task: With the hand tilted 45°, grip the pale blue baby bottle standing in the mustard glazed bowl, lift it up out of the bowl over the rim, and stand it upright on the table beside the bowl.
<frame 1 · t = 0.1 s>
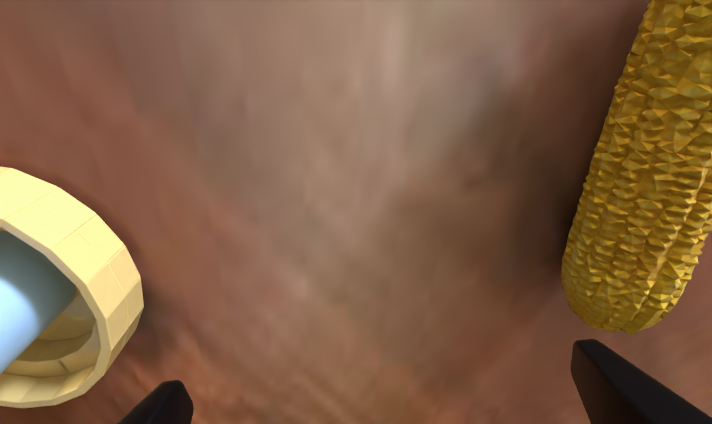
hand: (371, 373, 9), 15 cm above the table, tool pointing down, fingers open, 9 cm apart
food: (627, 125, 21), on the table
baby bottle: (22, 275, 25), point 1 cm above the table, touching bowl
bowl: (29, 269, 26), on the table
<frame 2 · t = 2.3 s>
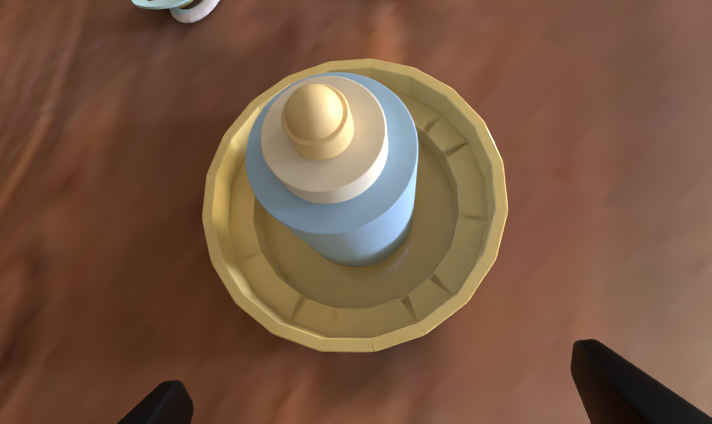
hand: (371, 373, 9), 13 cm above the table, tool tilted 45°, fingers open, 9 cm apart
baby bottle: (357, 211, 24), point 1 cm above the table, touching bowl
bowl: (358, 214, 24), on the table
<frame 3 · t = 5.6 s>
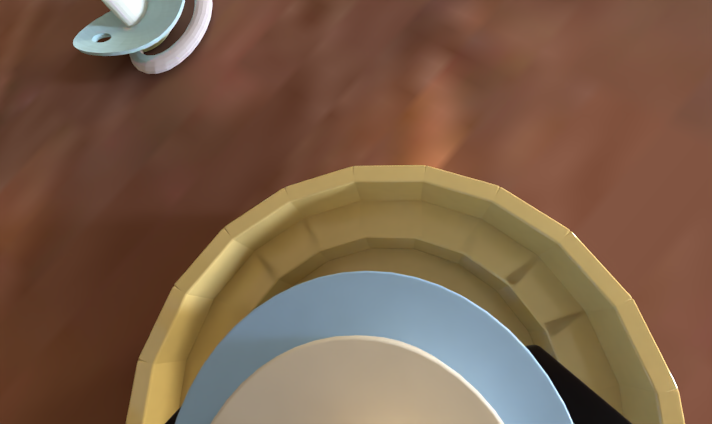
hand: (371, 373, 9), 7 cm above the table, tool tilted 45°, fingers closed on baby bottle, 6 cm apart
baby bottle: (389, 399, 15), point 1 cm above the table, touching bowl, gripper
bowl: (390, 396, 15), on the table
pacifier: (164, 31, 22), on the table
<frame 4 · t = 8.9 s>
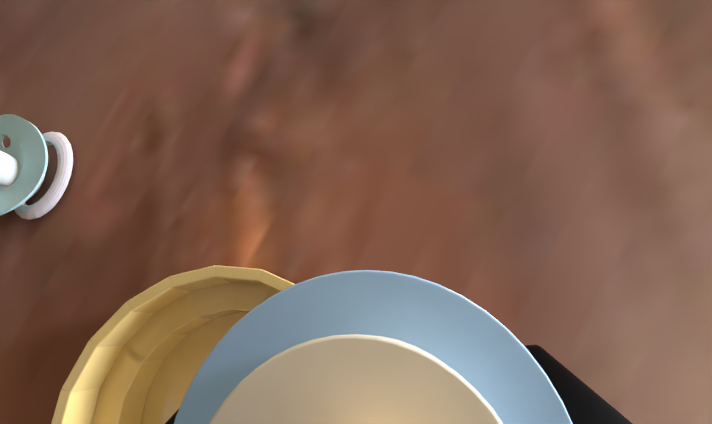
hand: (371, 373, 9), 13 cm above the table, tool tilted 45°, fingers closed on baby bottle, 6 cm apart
baby bottle: (388, 399, 15), point 7 cm above the table, touching gripper
bowl: (245, 419, 21), on the table
pacifier: (40, 178, 28), on the table
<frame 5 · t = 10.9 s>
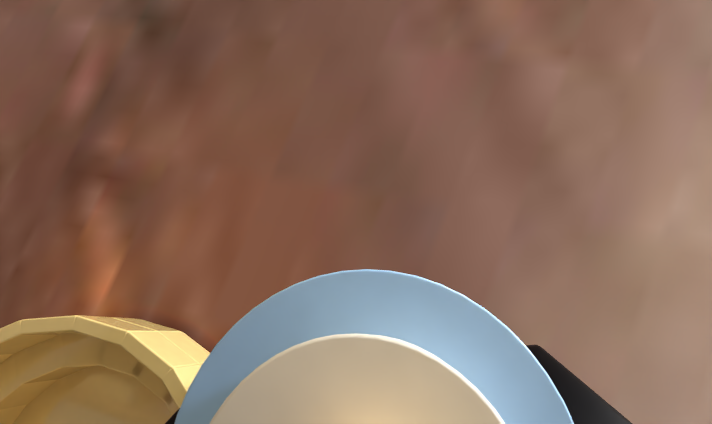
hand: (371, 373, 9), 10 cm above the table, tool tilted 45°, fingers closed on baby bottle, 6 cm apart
baby bottle: (389, 398, 15), point 3 cm above the table, touching gripper
when the fingers open (6 cm above the table, at t = 12.4 s): baby bottle stays where it is, on the table.
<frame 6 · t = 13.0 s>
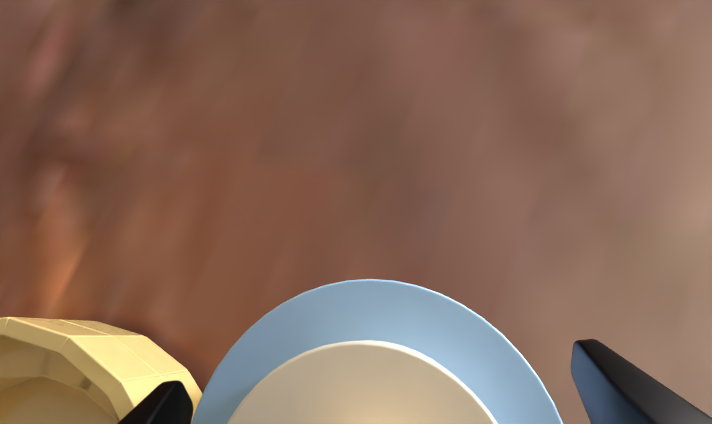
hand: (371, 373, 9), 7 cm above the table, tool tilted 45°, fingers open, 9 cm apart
baby bottle: (390, 399, 15), on the table
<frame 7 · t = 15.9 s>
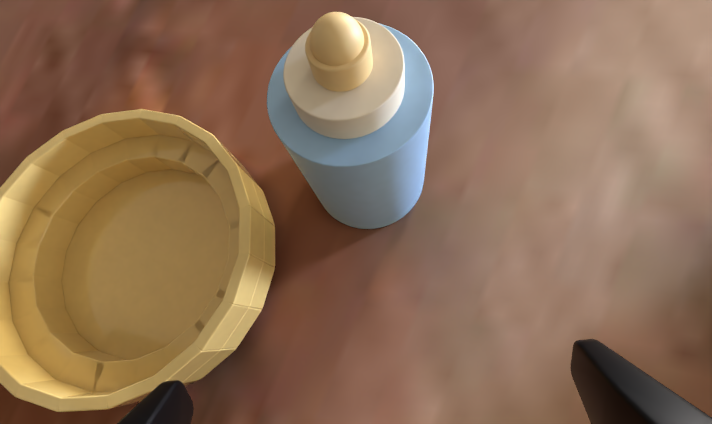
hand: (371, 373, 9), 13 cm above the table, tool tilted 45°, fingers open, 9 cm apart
baby bottle: (368, 176, 24), on the table
bowl: (157, 259, 24), on the table
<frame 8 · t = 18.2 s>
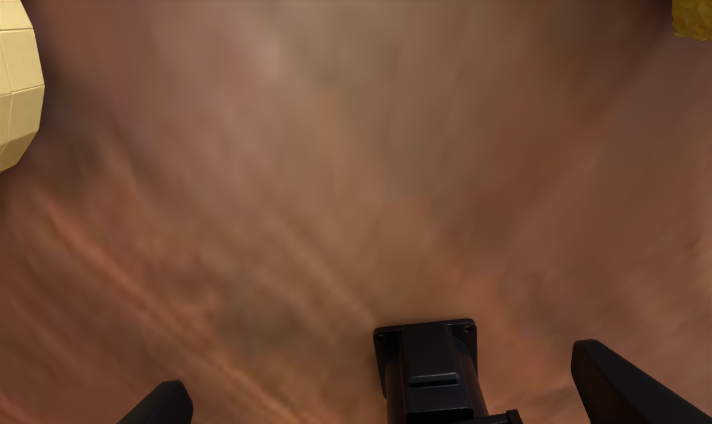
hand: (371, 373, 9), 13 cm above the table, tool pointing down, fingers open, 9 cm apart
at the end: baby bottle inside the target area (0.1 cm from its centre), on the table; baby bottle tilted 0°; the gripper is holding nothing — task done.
